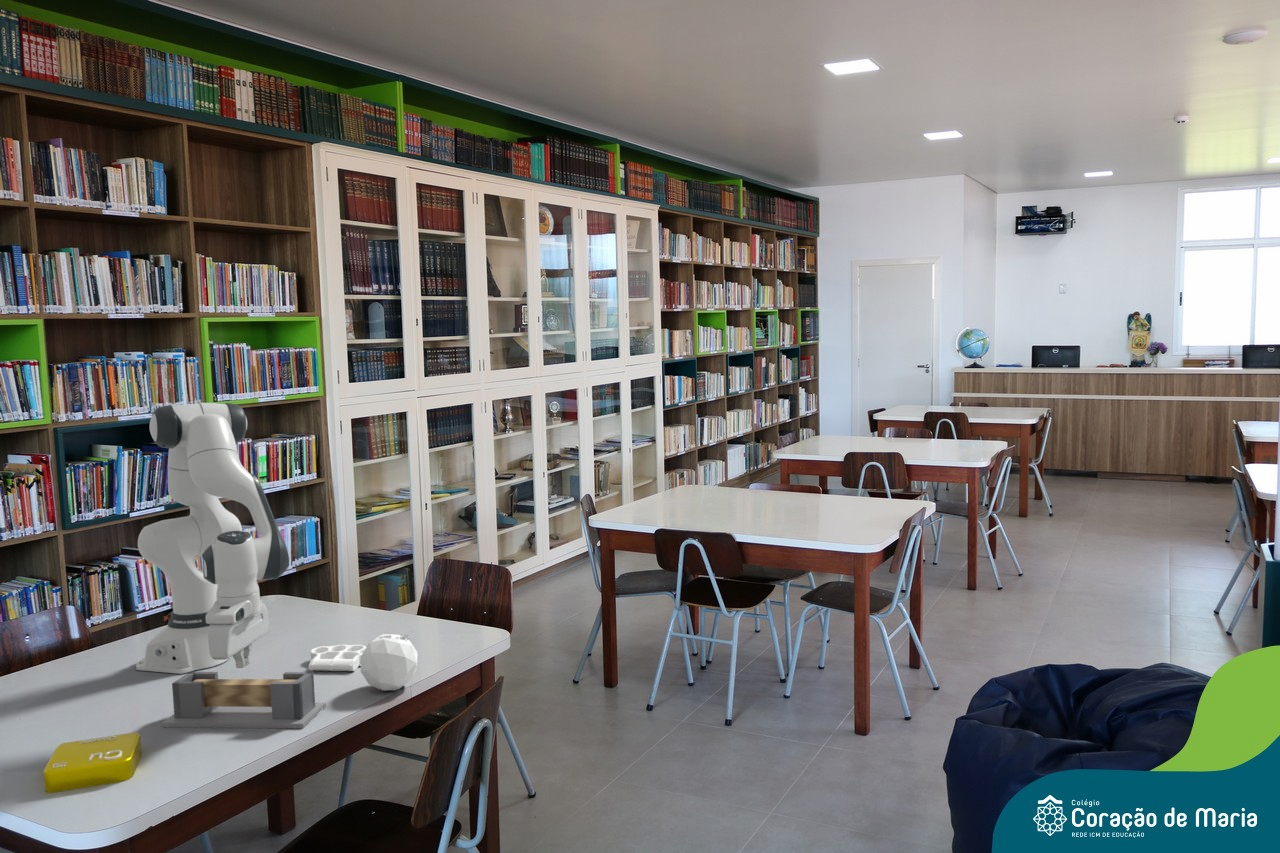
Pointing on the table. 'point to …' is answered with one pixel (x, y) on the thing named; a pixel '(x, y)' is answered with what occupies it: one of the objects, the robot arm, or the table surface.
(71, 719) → the table surface
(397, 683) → the geodesic sphere
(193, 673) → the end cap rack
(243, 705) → the oak slat
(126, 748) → the element tile
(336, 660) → the knuckle duster
